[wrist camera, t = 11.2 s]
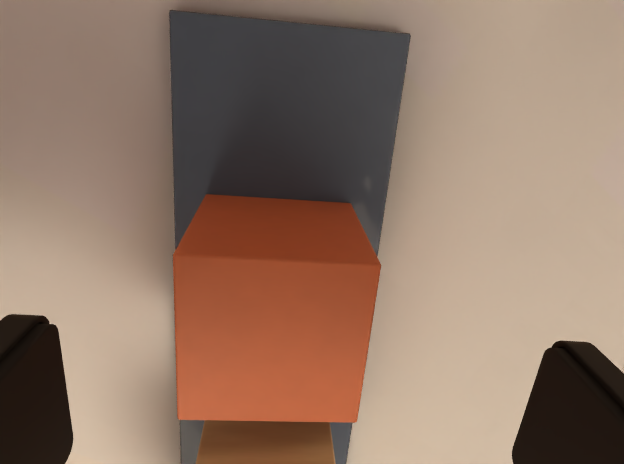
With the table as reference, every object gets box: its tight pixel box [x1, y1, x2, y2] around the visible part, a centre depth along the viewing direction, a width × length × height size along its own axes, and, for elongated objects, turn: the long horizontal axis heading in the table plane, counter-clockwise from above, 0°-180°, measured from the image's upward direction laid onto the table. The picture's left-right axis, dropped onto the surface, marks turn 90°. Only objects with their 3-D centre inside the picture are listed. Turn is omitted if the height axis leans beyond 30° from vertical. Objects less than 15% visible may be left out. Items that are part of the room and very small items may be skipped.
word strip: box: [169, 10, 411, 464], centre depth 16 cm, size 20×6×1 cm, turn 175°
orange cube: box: [173, 194, 381, 423], centre depth 12 cm, size 4×4×4 cm
